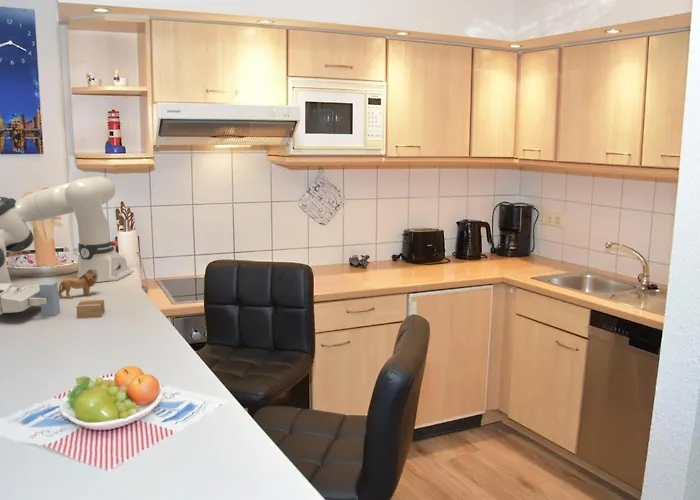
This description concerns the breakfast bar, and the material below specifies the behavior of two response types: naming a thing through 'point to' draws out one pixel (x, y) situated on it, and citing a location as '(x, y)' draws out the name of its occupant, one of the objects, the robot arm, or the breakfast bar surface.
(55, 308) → the tall block
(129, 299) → the breakfast bar surface
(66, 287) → the lion figurine
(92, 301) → the base brick
